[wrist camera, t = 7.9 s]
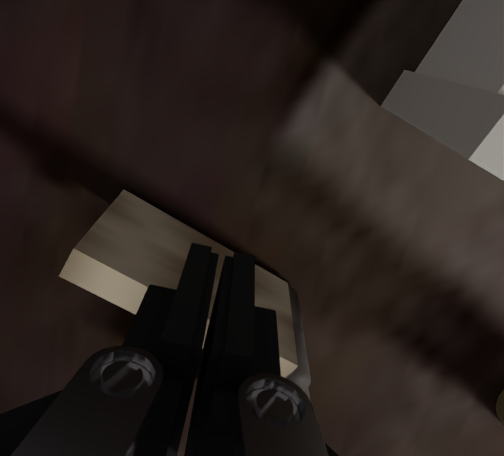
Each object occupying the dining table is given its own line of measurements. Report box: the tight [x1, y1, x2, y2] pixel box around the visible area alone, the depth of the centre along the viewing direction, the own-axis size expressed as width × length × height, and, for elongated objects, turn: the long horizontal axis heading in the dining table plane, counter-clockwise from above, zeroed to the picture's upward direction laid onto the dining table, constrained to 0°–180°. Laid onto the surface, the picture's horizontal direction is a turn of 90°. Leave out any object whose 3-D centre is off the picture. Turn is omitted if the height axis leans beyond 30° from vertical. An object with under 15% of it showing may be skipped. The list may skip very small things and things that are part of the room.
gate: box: [59, 190, 311, 390], centre depth 22 cm, size 12×2×7 cm, turn 57°
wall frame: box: [303, 0, 504, 400], centre depth 20 cm, size 31×3×10 cm, turn 151°
